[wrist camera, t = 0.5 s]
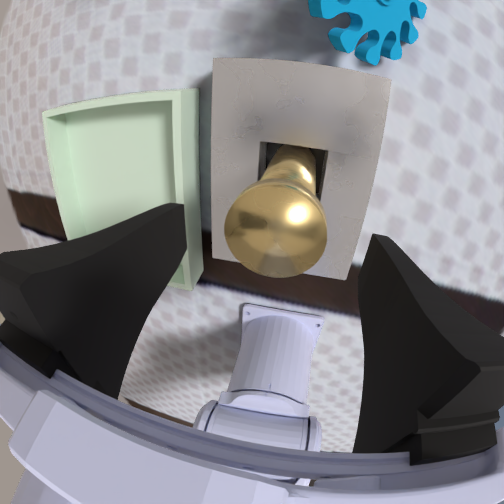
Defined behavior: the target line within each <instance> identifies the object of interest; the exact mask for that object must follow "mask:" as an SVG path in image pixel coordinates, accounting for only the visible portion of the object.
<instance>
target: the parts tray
mask: <svg viewBox="0 0 504 504" xmlns="http://www.w3.org/2000/svg"><path fill="white" fill-rule="evenodd" d="M42 117H43V127H44V135H45V142H46V149H47V155H48V161H49V167H50V172H51V177H52V182H53V186H54V191H55V195H56V199H57V203H58V207H59V211H60V215H61V219H62V222H63V226H64V229H65V232H66V236H67V239H68V240H72V239H76V238H79V237H83V236H85V235H88V234H91V233H94V232H97V231H100V230H102V229H105V228H108V227H110V226H112V225H115V224H117V223H119V222H122V221H124V220H127V219H129V218H131V217H134V216H136V215H138V214H141V213H143V212H145V211H148V210H150V209H152V208H155V207H157V206H160V205H163V204H166V203H179V204H184V211H185V225H186V238H187V250H186V252H185V254H184V257H183V259H182V261H181V263H180V265H179V267H178V269H177V270H176V272H175V274H174V275H173V277H172V278H171V280H170V281H169V283H168V284H167V286H171V287H175V288H179V289H184V290H188V291H192V290H193V289H194V287H195V285H196V283H197V281H198V279H199V278H200V276H201V274H202V272H203V270H204V269H203V252H202V233H201V210H200V177H199V88H190V89H170V90H156V91H145V92H136V93H128V94H120V95H113V96H107V97H101V98H95V99H90V100H85V101H80V102H75V103H71V104H67V105H63V106H59V107H56V108H53V109H50V110H47V111H43V112H42Z"/></svg>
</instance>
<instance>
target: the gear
mask: <svg viewBox="0 0 504 504" xmlns="http://www.w3.org/2000/svg"><path fill="white" fill-rule="evenodd" d="M308 5H309V11H310V15H311V16H313V17H319V18H325V19H331V18H334V17H335V16H336V15H338V14H340V13H343V12H346V13H348V14H349V16H350V18H351V23H350V25H349V27H348V28H346V29H342V28H337V27H336V28H333V29H331V30H330V31H329V33H328V36H329V39H330V41H331V43H332V45H333V46H334V47H335V49H336V50H339V51H343V52H346V53H350V52H352V51H353V50H354V49H355V47H356V45H357V43H358V41H359V39H360V38H361V37H362V36H363V35H364V34H365V33H367V32H368V37H367V40H366V41H365V42H363V43H361V44H359V45H358V46H357V47H356V49H355V56H356V57H357V58H358V59H360V60H362V61H365V62H367V63H370V64H373V65H375V66H376V65H377V64H378V62H379V60H380V55H381V56H384V57H387V58H389V59H392V60H397V59H400V58H401V56H402V49H401V45H400V41H403V42H406V43H409V44H412V43H414V42H415V41H416V40H417V38H418V31H417V29H416V28H415V27H414V25H413V23H412V20H411V16H414V17H417V18H420V19H423V18H424V16H425V13H426V9H427V7H426V5H425V4H424V3H422V2H420V1H418V0H308ZM410 15H411V16H410Z"/></svg>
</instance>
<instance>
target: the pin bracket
mask: <svg viewBox="0 0 504 504" xmlns="http://www.w3.org/2000/svg"><path fill="white" fill-rule="evenodd" d="M390 87H391V79H388V78H384V77H380V76H376V75H372V74H368V73H363V72H359V71H354V70H349V69H344V68H339V67H333V66H327V65H321V64H314V63H306V62H297V61H287V60H275V59H257V58H213V76H212V109H211V221H212V257H213V258H217V259H223V260H229V261H235V262H239V261H238V260H237V259H236V258H235V256H234V255H233V254H232V252H231V251H230V249H229V247H228V245H227V242H226V239H225V235H224V223H225V219H226V216H227V213H228V211H229V209H230V208H231V206H232V204H233V203H234V201H235V200H236V198H237V197H238V195H239V194H240V193H241V192H242V191H243V190H244V189H245V188H246V187H248V186H249V185H251V184H253V183H255V182H257V181H260V180H261V178H262V176H263V174H264V172H265V165H266V152H267V142H273V143H281V144H289V145H296V146H303V147H310V148H316V149H322V150H325V155H324V162H323V169H322V175H321V181H320V187H319V193H318V194H317V193H315V196H316V197H317V198H318V200H319V201H320V203H321V204H322V206H323V208H324V211H325V214H326V220H327V243H326V247H325V251H324V253H323V255H322V256H321V258H320V259H319V261H318V262H317V263H316V264H315V265H314V266H313V267H311V268H310V269H309V270H307V271H305V272H303V273H305V274H311V275H317V276H323V277H329V278H335V279H342V280H346V278H347V275H348V272H349V269H350V265H351V262H352V259H353V256H354V253H355V249H356V246H357V243H358V239H359V236H360V232H361V229H362V225H363V221H364V218H365V214H366V210H367V206H368V202H369V198H370V194H371V190H372V186H373V181H374V177H375V173H376V168H377V163H378V159H379V154H380V149H381V143H382V138H383V133H384V127H385V121H386V115H387V108H388V102H389V94H390Z"/></svg>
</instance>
